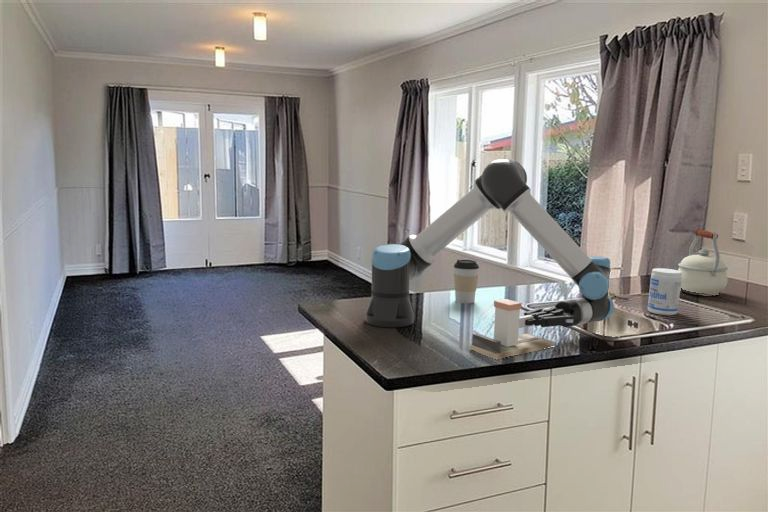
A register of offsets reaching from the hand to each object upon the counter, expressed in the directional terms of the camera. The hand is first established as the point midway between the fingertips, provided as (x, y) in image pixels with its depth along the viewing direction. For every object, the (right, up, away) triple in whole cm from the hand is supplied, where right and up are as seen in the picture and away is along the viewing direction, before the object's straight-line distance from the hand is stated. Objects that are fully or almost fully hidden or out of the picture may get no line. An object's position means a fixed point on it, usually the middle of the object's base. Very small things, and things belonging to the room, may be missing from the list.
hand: (514, 323), depth 170 cm
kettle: (+91, +3, +84) cm, 123 cm away
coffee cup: (-6, +2, +58) cm, 58 cm away
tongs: (+53, +2, +72) cm, 90 cm away
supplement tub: (+61, -2, +48) cm, 77 cm away
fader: (-2, -5, 0) cm, 6 cm away
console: (0, -7, +2) cm, 7 cm away
